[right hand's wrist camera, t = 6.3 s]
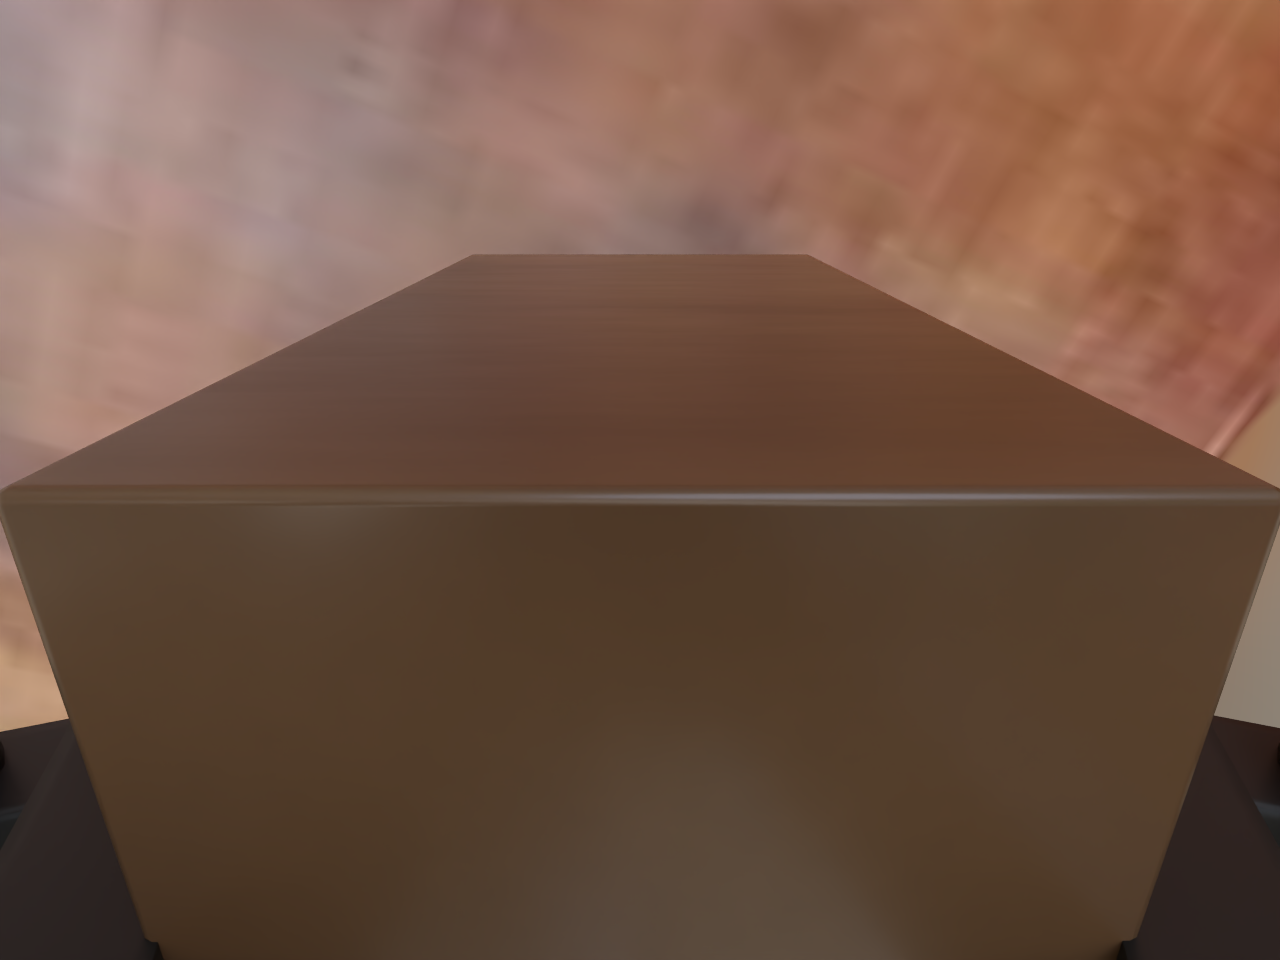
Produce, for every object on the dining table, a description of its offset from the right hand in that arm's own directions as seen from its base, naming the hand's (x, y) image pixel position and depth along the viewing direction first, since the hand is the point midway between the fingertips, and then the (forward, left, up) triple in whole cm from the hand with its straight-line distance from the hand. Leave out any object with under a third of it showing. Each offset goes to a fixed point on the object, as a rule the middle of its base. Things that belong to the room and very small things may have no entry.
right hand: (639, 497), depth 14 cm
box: (+7, +2, -1) cm, 8 cm away
